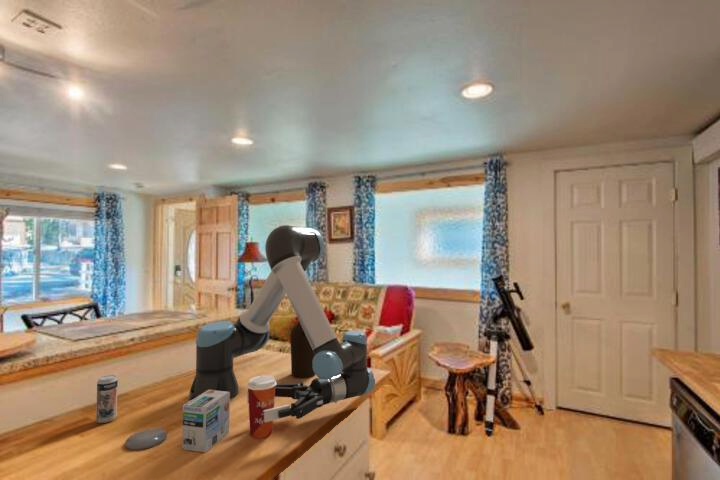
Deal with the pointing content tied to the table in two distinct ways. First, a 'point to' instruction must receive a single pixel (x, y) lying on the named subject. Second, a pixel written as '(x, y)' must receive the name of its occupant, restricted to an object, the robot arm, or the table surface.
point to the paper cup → (260, 404)
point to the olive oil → (301, 353)
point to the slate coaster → (146, 439)
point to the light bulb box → (205, 420)
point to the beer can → (106, 399)
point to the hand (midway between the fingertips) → (255, 406)
